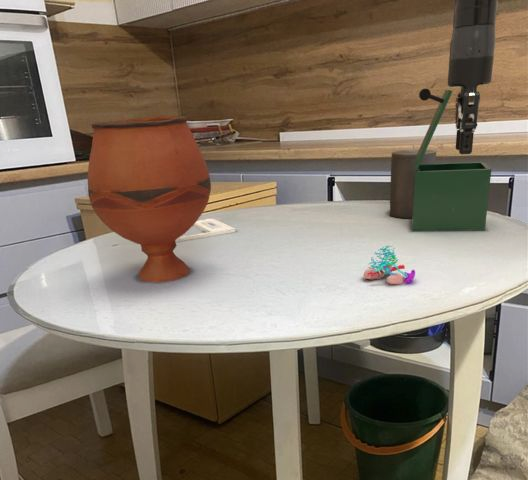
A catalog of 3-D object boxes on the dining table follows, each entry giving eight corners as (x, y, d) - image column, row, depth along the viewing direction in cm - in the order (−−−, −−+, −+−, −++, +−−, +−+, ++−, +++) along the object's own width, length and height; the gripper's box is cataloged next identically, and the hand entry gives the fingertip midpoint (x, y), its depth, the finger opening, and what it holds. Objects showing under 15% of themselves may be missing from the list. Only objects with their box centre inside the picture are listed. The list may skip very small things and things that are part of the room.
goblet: (93, 299, 83) (56, 125, 72) (121, 264, 100) (94, 120, 89) (216, 290, 83) (197, 115, 72) (222, 257, 100) (207, 112, 89)
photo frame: (235, 227, 117) (155, 240, 110) (235, 232, 118) (156, 246, 111) (211, 217, 129) (138, 229, 123) (212, 222, 130) (139, 233, 123)
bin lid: (448, 90, 105) (423, 81, 105) (452, 91, 95) (425, 80, 95) (416, 163, 112) (392, 154, 112) (416, 170, 102) (391, 160, 102)
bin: (477, 219, 114) (483, 161, 109) (484, 232, 104) (491, 169, 99) (411, 220, 117) (414, 164, 112) (412, 233, 107) (415, 172, 102)
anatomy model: (386, 263, 74) (421, 248, 77) (348, 253, 80) (382, 239, 83) (388, 297, 76) (422, 281, 79) (352, 285, 83) (384, 270, 85)
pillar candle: (382, 217, 123) (383, 147, 116) (400, 209, 130) (402, 143, 123) (422, 220, 117) (427, 147, 111) (439, 211, 124) (444, 142, 118)
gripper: (499, 51, 89) (488, 154, 96) (488, 56, 101) (479, 147, 108) (452, 56, 91) (444, 156, 97) (446, 60, 103) (440, 149, 110)
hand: (463, 151), depth 103 cm, fingers open, 8 cm apart
